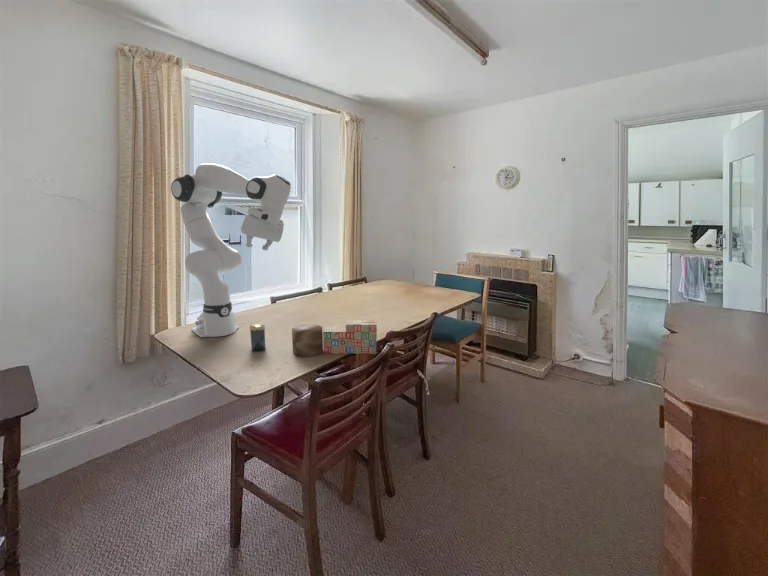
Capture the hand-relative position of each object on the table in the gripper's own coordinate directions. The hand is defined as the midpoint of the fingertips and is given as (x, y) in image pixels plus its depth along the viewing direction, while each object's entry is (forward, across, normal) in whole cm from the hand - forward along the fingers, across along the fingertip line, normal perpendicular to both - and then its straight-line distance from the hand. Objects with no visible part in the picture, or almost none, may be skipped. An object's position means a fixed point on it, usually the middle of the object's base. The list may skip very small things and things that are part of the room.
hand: (256, 248), depth 154 cm
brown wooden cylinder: (+31, -11, +33) cm, 47 cm away
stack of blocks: (+24, -18, +47) cm, 56 cm away
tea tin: (+38, -5, +15) cm, 41 cm away
